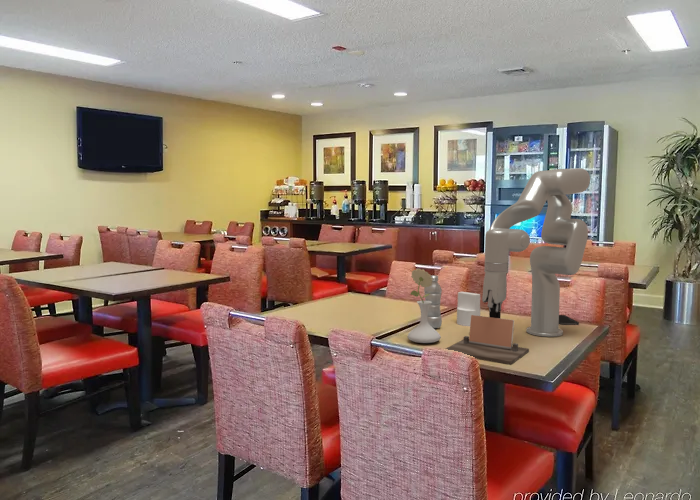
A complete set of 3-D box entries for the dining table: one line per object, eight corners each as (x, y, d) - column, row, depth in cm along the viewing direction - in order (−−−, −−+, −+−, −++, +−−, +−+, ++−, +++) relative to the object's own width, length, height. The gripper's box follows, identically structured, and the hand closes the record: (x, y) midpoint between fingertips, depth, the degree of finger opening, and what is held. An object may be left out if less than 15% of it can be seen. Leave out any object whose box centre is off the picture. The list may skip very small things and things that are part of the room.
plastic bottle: (440, 330, 206) (440, 277, 204) (422, 329, 208) (422, 276, 206) (443, 326, 212) (443, 275, 210) (425, 325, 214) (426, 274, 212)
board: (464, 341, 190) (464, 332, 190) (528, 351, 177) (529, 341, 177) (442, 353, 176) (442, 343, 176) (511, 364, 164) (511, 354, 163)
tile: (472, 315, 184) (471, 315, 183) (514, 320, 176) (513, 320, 175) (470, 343, 184) (468, 343, 183) (511, 349, 176) (510, 349, 175)
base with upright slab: (452, 323, 218) (452, 293, 217) (466, 320, 224) (466, 290, 223) (470, 327, 211) (471, 296, 210) (484, 323, 217) (485, 293, 216)
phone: (560, 323, 215) (545, 314, 230) (559, 325, 215) (545, 317, 230) (580, 322, 215) (564, 314, 230) (580, 325, 215) (564, 317, 230)
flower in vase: (447, 343, 188) (448, 270, 186) (420, 347, 183) (421, 272, 180) (424, 334, 200) (424, 266, 197) (398, 339, 194) (398, 268, 192)
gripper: (493, 265, 189) (491, 318, 190) (476, 269, 177) (474, 325, 178) (515, 266, 185) (513, 321, 186) (499, 270, 172) (497, 329, 174)
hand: (494, 323), depth 182 cm, fingers closed
